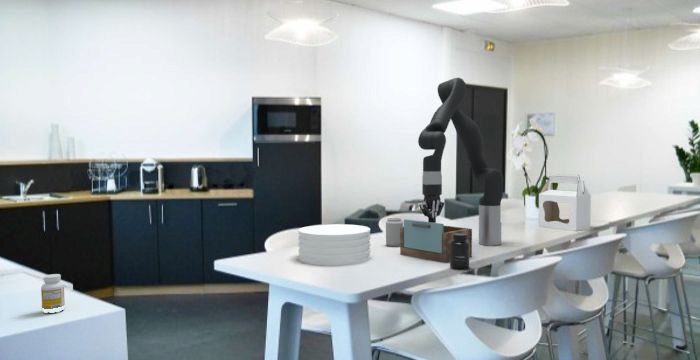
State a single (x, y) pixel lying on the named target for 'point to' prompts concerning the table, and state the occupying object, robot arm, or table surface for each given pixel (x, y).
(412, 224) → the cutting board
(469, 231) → the crate
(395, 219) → the can
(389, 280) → the table surface
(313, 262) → the plate stack
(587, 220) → the gable box
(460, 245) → the supplement bottle
